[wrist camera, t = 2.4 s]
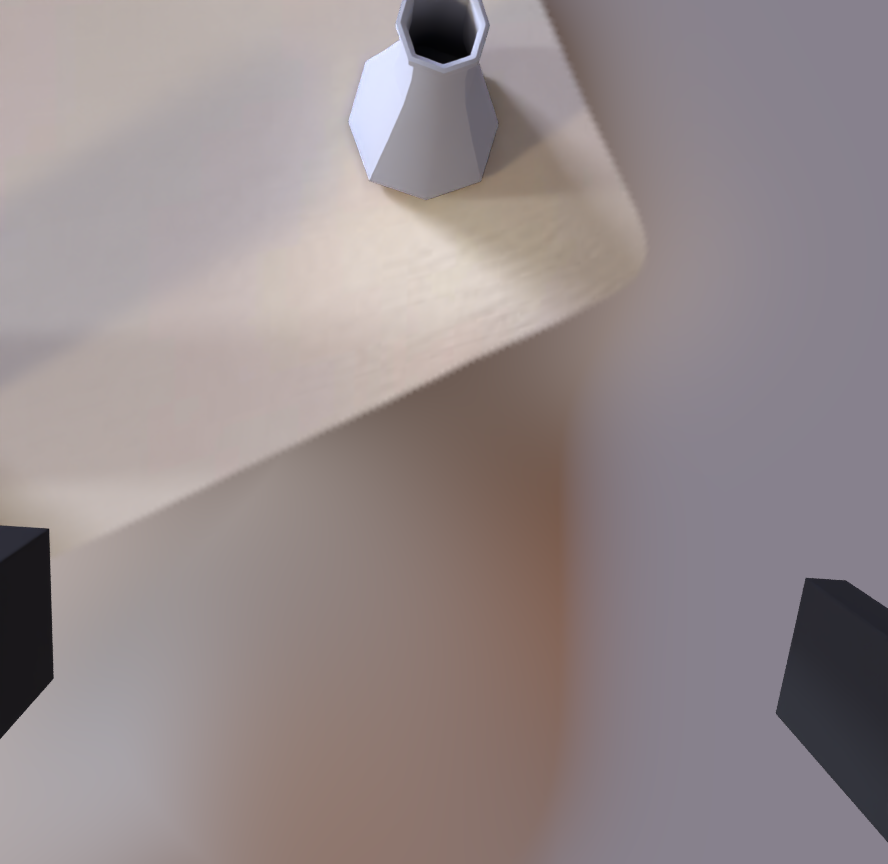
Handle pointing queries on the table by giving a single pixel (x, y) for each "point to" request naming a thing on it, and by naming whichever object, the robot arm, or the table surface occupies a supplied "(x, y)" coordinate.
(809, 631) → the robot arm
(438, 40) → the flask
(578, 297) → the table surface
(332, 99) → the table surface
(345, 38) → the table surface
